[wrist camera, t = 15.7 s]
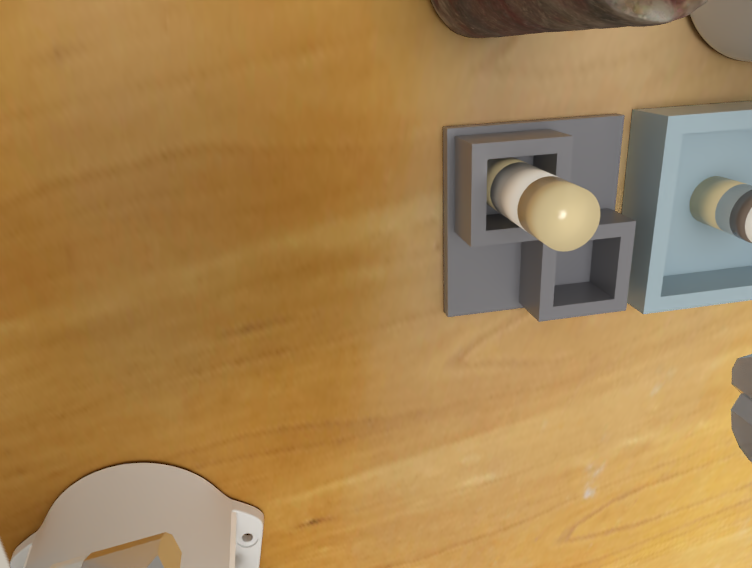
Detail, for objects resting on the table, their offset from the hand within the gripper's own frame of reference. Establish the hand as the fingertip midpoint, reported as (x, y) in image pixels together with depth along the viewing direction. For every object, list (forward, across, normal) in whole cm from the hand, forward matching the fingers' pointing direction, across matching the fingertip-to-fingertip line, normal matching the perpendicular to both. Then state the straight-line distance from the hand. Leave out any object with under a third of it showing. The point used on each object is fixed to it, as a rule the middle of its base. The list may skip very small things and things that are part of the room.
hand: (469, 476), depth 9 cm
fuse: (+33, -12, +6) cm, 36 cm away
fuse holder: (+34, -14, +10) cm, 38 cm away
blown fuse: (+34, -29, +12) cm, 46 cm away
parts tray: (+34, -29, +12) cm, 46 cm away
